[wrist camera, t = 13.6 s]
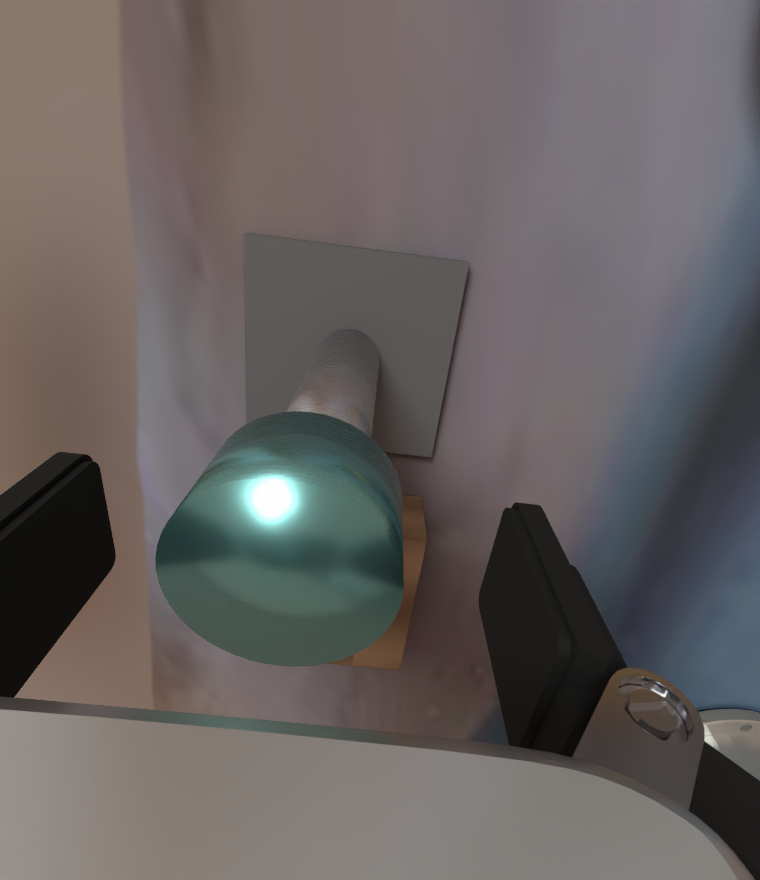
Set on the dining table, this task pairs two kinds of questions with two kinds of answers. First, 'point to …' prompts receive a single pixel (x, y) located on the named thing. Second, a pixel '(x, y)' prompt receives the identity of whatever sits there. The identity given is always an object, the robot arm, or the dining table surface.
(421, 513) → the eye block
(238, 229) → the dining table surface
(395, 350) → the rubber pad
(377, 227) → the dining table surface
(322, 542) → the teal capped rod
